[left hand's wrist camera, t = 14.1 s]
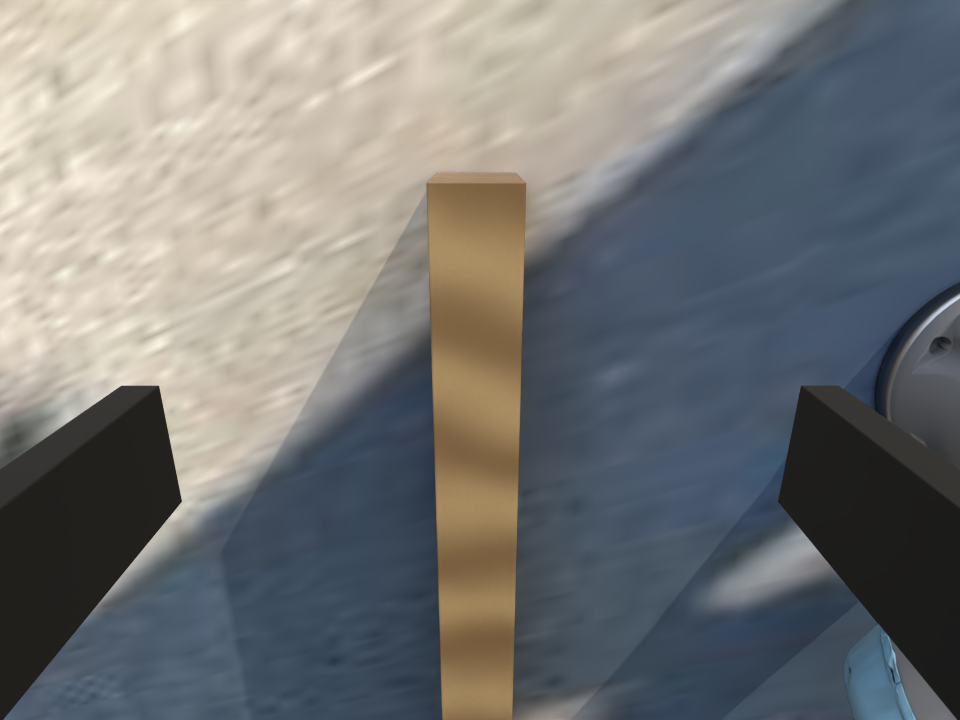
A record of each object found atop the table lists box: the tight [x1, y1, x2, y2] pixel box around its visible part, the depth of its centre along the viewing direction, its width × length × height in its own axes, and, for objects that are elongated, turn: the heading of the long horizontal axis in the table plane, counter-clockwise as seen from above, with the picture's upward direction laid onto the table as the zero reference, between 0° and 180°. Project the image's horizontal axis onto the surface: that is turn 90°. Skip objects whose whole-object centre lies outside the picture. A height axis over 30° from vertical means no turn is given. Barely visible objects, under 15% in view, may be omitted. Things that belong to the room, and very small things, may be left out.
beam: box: [427, 173, 526, 720], centre depth 47 cm, size 77×5×8 cm, turn 0°
